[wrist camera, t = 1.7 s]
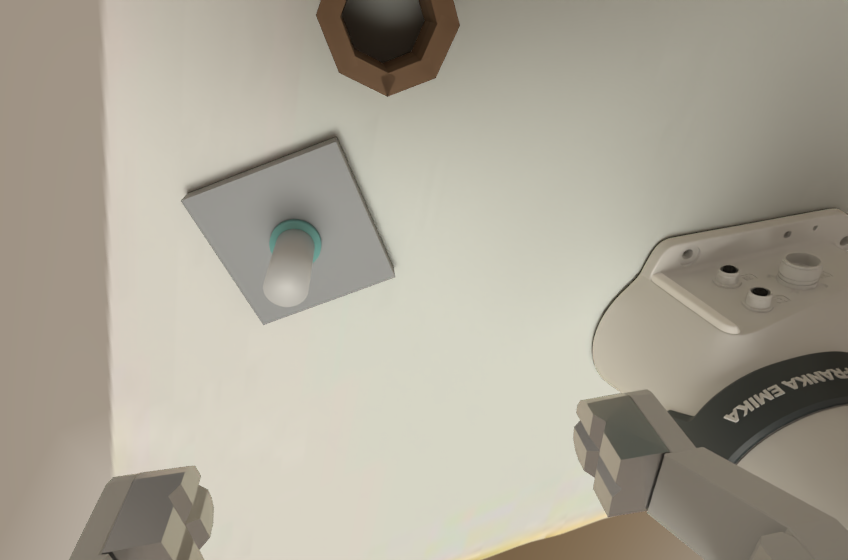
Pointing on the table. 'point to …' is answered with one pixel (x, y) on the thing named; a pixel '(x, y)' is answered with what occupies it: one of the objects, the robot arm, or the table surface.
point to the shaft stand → (293, 231)
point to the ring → (401, 69)
